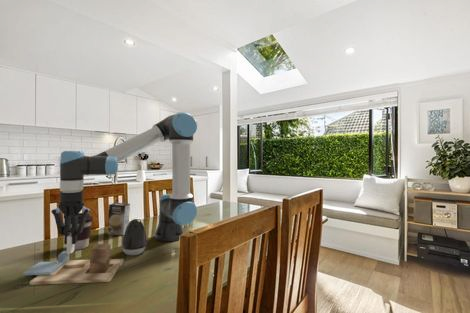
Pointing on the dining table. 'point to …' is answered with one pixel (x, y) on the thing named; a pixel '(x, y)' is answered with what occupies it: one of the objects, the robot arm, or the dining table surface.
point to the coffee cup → (83, 233)
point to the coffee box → (118, 218)
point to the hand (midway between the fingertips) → (70, 252)
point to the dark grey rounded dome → (134, 238)
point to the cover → (47, 266)
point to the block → (100, 258)
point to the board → (77, 273)
